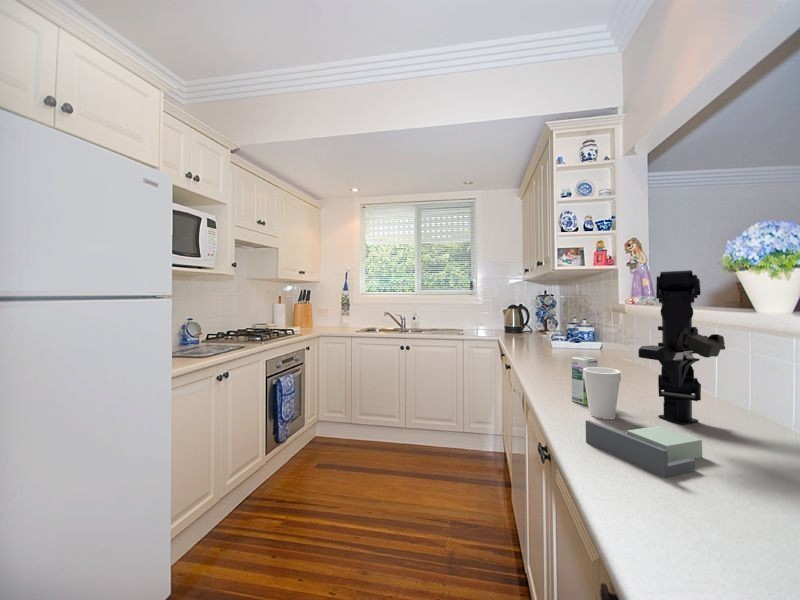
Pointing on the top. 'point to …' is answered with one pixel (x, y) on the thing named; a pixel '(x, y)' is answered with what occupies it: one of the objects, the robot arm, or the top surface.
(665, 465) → the stand
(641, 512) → the top surface
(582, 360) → the syrup box
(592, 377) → the foam cup
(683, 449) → the carton
